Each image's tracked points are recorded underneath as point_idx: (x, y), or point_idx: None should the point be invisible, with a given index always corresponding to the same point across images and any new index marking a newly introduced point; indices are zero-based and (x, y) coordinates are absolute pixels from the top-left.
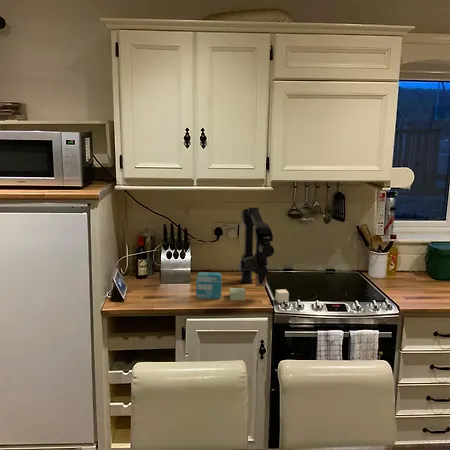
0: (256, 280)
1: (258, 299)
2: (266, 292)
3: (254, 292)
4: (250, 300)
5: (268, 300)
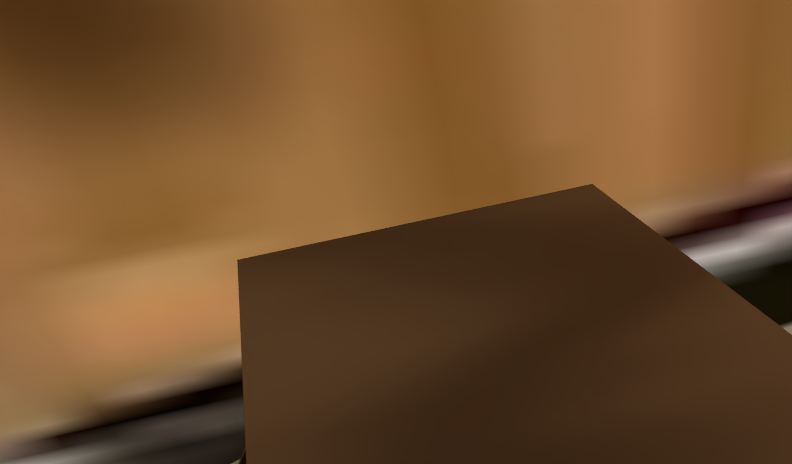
0: (257, 458)
1: (267, 172)
2: None
3: (646, 27)
4: (137, 16)
5: None
